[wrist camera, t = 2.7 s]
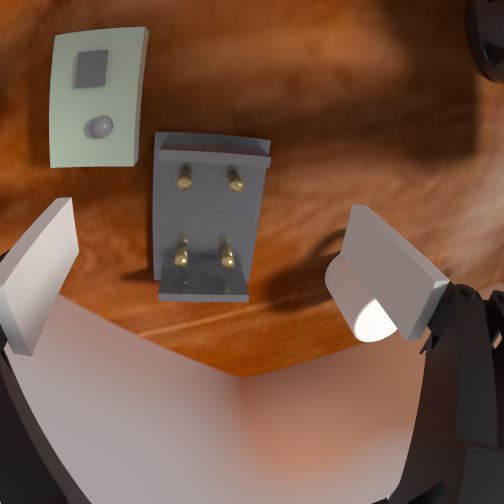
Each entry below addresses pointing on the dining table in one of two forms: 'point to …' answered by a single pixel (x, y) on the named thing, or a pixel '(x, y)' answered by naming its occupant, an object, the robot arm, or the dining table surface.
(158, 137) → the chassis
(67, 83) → the board
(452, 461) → the robot arm
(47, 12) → the dining table surface
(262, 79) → the dining table surface
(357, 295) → the mug
